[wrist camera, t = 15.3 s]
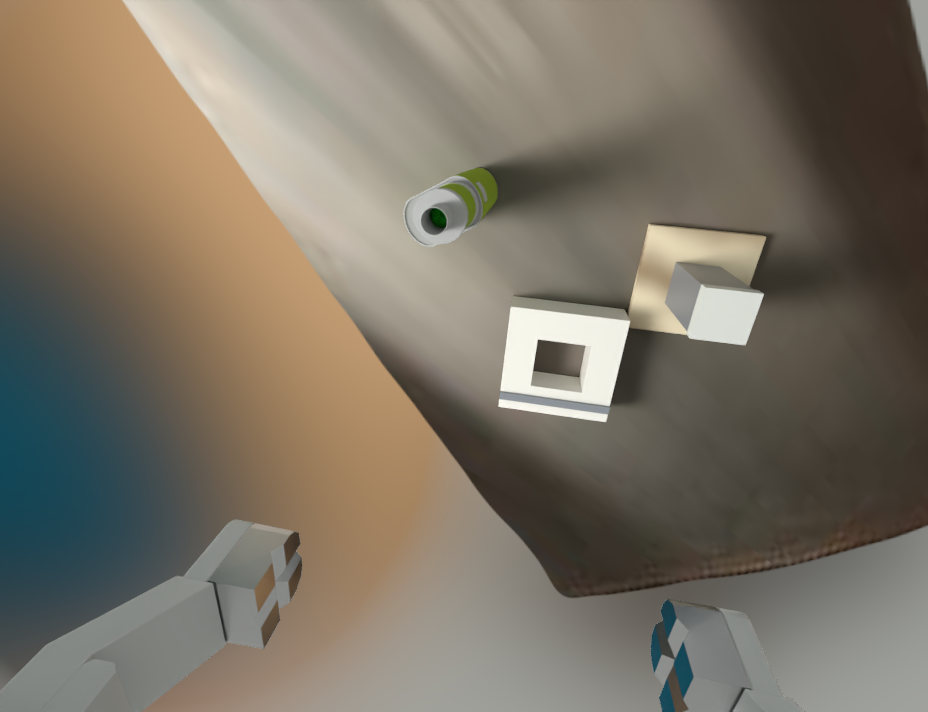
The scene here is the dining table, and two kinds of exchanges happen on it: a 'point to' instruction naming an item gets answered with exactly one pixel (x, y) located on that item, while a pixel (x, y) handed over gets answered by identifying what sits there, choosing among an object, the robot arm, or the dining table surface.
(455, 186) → the vape
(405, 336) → the dining table surface
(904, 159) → the dining table surface
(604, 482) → the dining table surface
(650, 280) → the coaster
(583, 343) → the white flat square piece
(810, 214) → the dining table surface
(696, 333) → the plug
